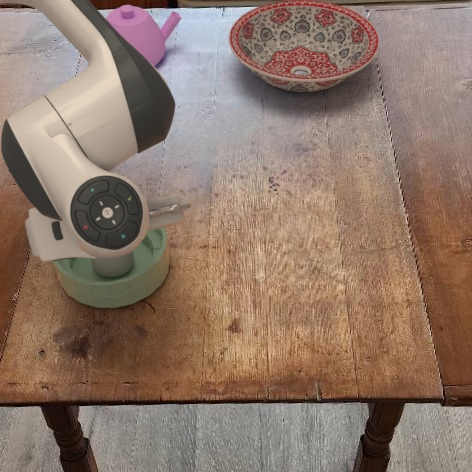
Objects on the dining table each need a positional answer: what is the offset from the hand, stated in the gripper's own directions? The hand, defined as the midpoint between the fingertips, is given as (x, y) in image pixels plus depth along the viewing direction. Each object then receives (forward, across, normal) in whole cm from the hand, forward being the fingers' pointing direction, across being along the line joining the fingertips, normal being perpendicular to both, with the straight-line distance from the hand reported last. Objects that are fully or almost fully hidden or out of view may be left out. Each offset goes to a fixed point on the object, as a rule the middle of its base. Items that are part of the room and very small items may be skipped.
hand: (107, 226), depth 94 cm
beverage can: (+11, 0, +6) cm, 13 cm away
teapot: (+53, -15, -35) cm, 65 cm away
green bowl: (+12, 0, +6) cm, 13 cm away
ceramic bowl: (+42, -45, -24) cm, 66 cm away
